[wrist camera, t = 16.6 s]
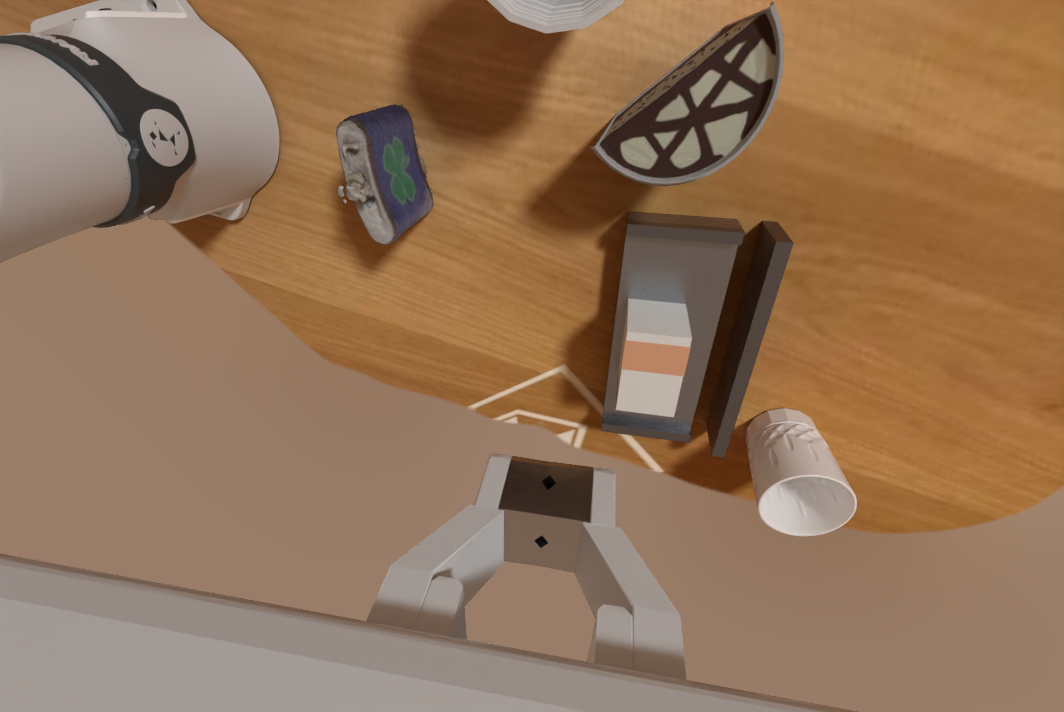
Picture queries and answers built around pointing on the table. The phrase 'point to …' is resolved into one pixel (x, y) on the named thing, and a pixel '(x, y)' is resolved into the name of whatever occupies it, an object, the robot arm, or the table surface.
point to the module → (653, 357)
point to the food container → (700, 107)
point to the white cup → (796, 475)
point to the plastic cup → (554, 13)
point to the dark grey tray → (696, 313)
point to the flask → (384, 171)
